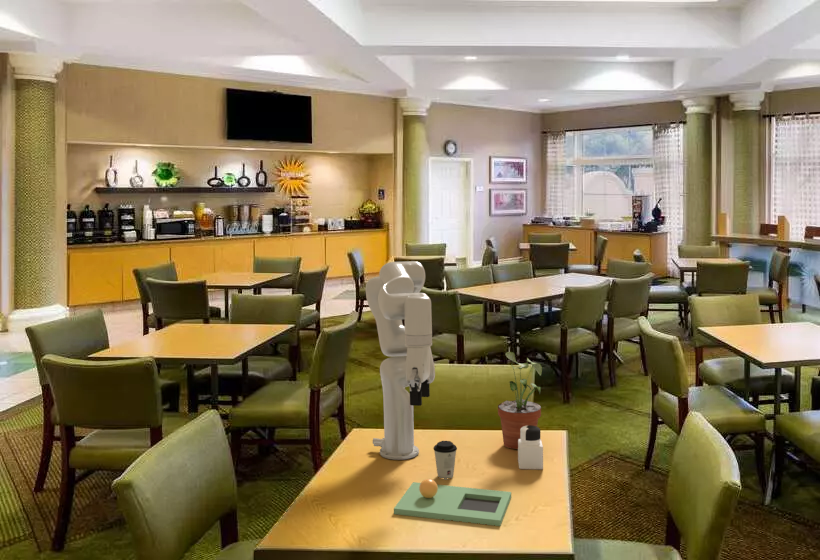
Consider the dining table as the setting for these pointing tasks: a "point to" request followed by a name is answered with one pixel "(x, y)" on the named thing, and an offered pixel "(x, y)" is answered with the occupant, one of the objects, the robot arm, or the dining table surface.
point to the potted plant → (518, 408)
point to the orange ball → (428, 488)
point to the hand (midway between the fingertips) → (420, 400)
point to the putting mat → (456, 504)
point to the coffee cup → (445, 458)
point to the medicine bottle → (530, 448)
